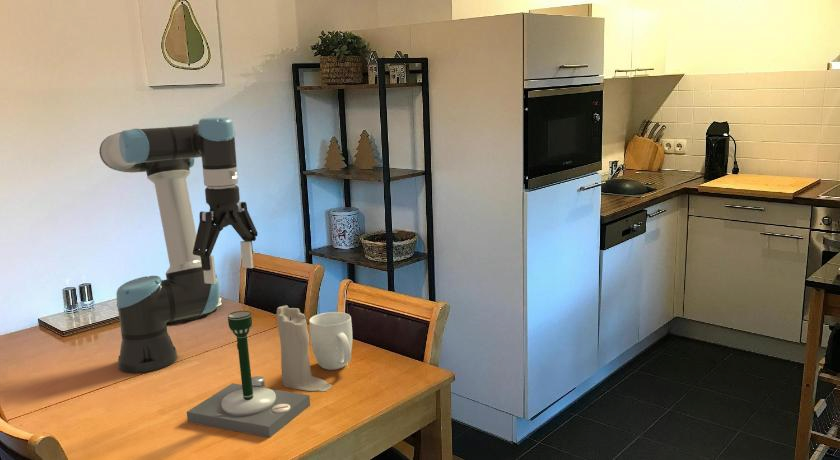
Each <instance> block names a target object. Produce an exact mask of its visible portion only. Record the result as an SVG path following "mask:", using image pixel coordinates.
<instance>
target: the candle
mask: <svg viewBox="0 0 840 460" xmlns="http://www.w3.org/2000/svg"><path fill="white" fill-rule="evenodd" d="M276 322H277V323H276V324H277V330H278V335H279V341H280V353H281V354H280V364H281V365H280V369H281V370H280V371H281V380H282V381H281V382H282V385H283V386H284V387H285V388H291V389H295V390H300V391H305V392H317V391H318V392H328V391H329V390H330V389H331V388H332V387H333V384H331V383H327V381H326V380H325V379H322V378H319V377H315V376H313V375H312V371H311V365H310V352H309V350H310V349H309V345H310V332H309V331H308V324H307V320H306V316H305V314H304V313H302V312H301V310H300V308H298V307H297V308H296V307H291V308H290V307H289V306H288V305H286V304H285V305H282V306H279V307H277V309H276Z"/></svg>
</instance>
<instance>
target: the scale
mask: <svg viewBox="0 0 840 460" xmlns="http://www.w3.org/2000/svg"><path fill="white" fill-rule="evenodd" d="M252 389H253V398H252V399H250V400H245V399H244V398H243V390H242V383H241V384H240V383H233V382H231V383H230V384H229V385H227V386H225V387H224V388H222V389H221V390H219V391H218V392H216V393H215V394H213V395H211V396H210V397H208V398H206V399H205V400H204V401H201V402H200V403H199V404H197V405H196V406H193V407H192V408H191V409H189V410H187V411H186V418H187V423H190V424H194V425H195V424H196V425H200V426H206V427H211V428H216V429H222V430H225V431H226V430H228V431H233V432H239V433H244V434H249V435H255V436H259V437H265V438H270V439H271V437H272V436H274V435H275V434H277V432H279V431H280V430H281V429H282V428H284V427H285V426H286V425H288V423H290V422H291V421H293V419H295V418H296V417H297V416H299V415H300V414H301V413H302V412H304V411H305V410H306V409H307V408H308V407H310V406H311V399H310V398H311V397H310V396H311V395H310V394H306V393H305V394H304V393H300V392H292V391H285V390H279V389H271V388H267V387H265V388H263V387H254V386H252Z"/></svg>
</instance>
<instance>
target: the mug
mask: <svg viewBox="0 0 840 460" xmlns="http://www.w3.org/2000/svg"><path fill="white" fill-rule="evenodd" d="M308 320H309V338H310V343H311V350H312V351H313V356H314V358H315V360H316V362H317V364H318V365H319V366H320V367H321V368H322V369H324V370H329V371H331V370H334V371H335V370H339V369H342V368H344V367H346V365H347V364H349V363H350V362H351V360H352V349H353V327H352V326H353V324H352V316H351V315H350V314H349V313H346V312H341V311H329V312H323V313H317V314H315V315H313V316H312V317H310V318H309V319H308Z"/></svg>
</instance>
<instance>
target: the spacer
mask: <svg viewBox="0 0 840 460" xmlns="http://www.w3.org/2000/svg"><path fill="white" fill-rule="evenodd" d="M251 379H252V386H254V387H263V388H266V384H265V383H266V382H265V377H264V376H260V375H259V376H258V375H256V376H255V375H254V376H251Z"/></svg>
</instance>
